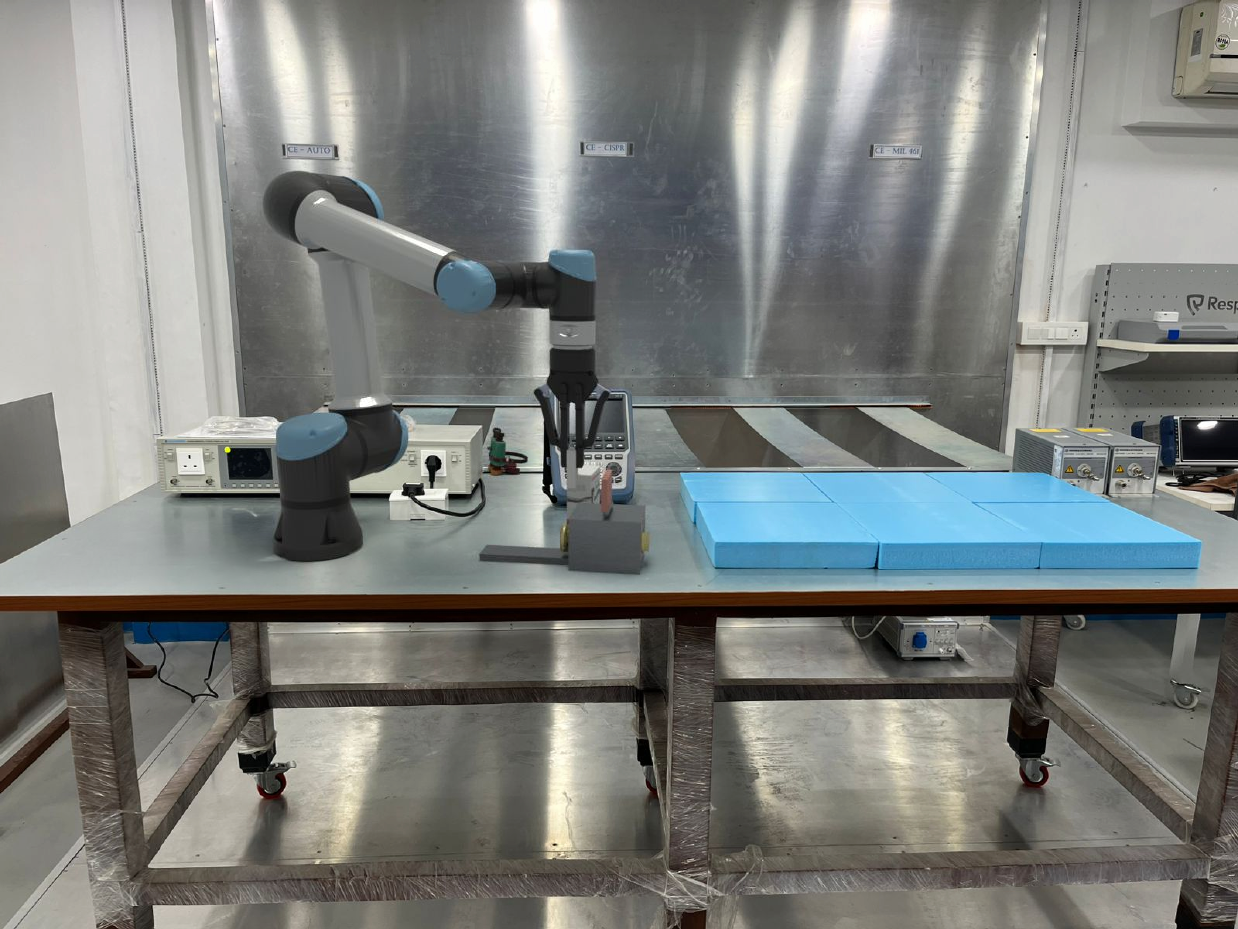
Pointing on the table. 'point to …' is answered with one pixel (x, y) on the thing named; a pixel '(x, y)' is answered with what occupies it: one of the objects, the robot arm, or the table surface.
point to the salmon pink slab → (606, 493)
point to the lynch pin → (565, 539)
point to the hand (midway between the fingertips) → (572, 486)
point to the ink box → (584, 488)
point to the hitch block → (588, 542)
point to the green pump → (502, 455)
